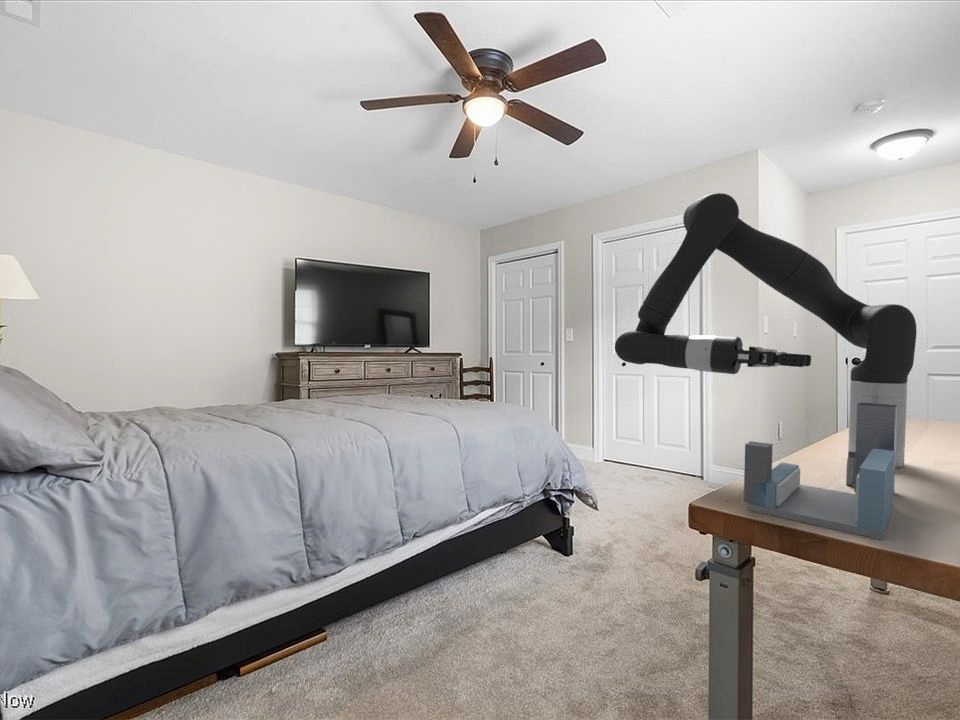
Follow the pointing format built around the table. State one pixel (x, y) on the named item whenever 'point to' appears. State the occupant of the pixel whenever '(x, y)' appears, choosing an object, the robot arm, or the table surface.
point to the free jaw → (767, 477)
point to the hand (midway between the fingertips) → (808, 360)
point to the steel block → (874, 431)
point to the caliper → (850, 469)
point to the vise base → (846, 500)
